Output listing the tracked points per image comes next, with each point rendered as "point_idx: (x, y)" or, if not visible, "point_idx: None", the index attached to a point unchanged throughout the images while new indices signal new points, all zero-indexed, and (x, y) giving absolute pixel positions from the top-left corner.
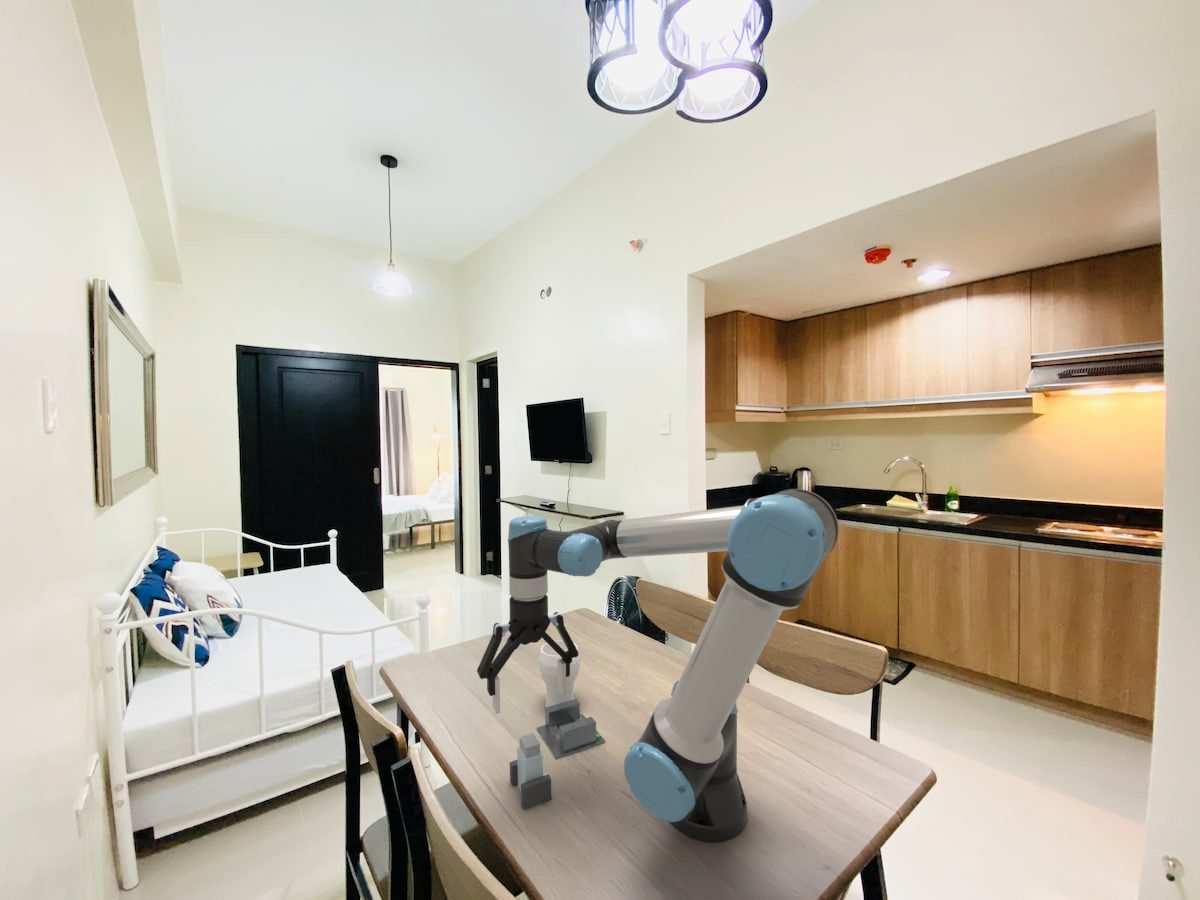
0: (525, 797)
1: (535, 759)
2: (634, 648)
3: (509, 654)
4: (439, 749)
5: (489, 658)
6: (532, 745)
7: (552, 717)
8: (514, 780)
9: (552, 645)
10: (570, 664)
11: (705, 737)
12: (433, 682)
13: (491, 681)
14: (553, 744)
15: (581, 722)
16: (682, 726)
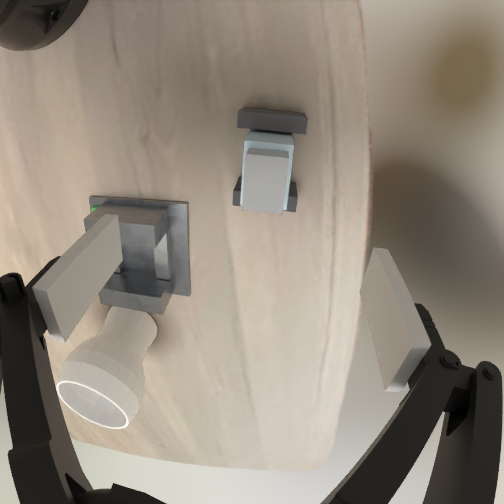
0: (301, 115)
1: (265, 141)
2: None
3: (377, 466)
4: (356, 332)
5: (490, 448)
6: (267, 159)
7: (157, 289)
8: (291, 185)
9: (30, 401)
10: (80, 363)
11: None
12: (291, 438)
13: (435, 349)
14: (177, 239)
15: None
16: None
